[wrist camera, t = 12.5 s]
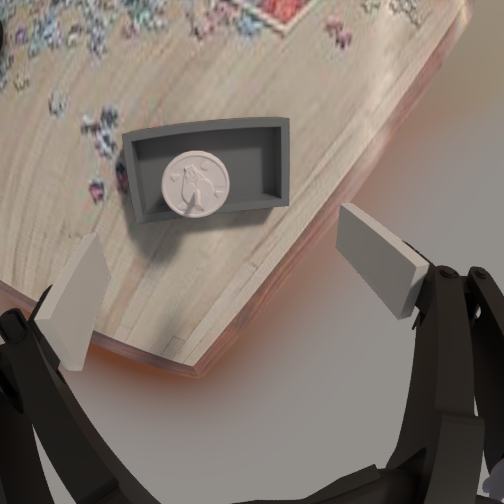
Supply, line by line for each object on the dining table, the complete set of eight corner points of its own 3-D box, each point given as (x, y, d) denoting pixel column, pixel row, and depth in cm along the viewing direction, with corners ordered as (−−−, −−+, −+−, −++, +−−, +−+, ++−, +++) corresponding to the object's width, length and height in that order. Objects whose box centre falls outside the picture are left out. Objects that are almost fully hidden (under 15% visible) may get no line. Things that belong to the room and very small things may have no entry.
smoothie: (179, 197, 34) (173, 249, 22) (162, 151, 31) (142, 178, 19) (227, 180, 35) (246, 223, 23) (212, 133, 31) (223, 148, 19)
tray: (129, 131, 30) (121, 134, 26) (279, 116, 33) (289, 118, 29) (141, 212, 35) (136, 223, 32) (280, 196, 38) (289, 205, 35)
